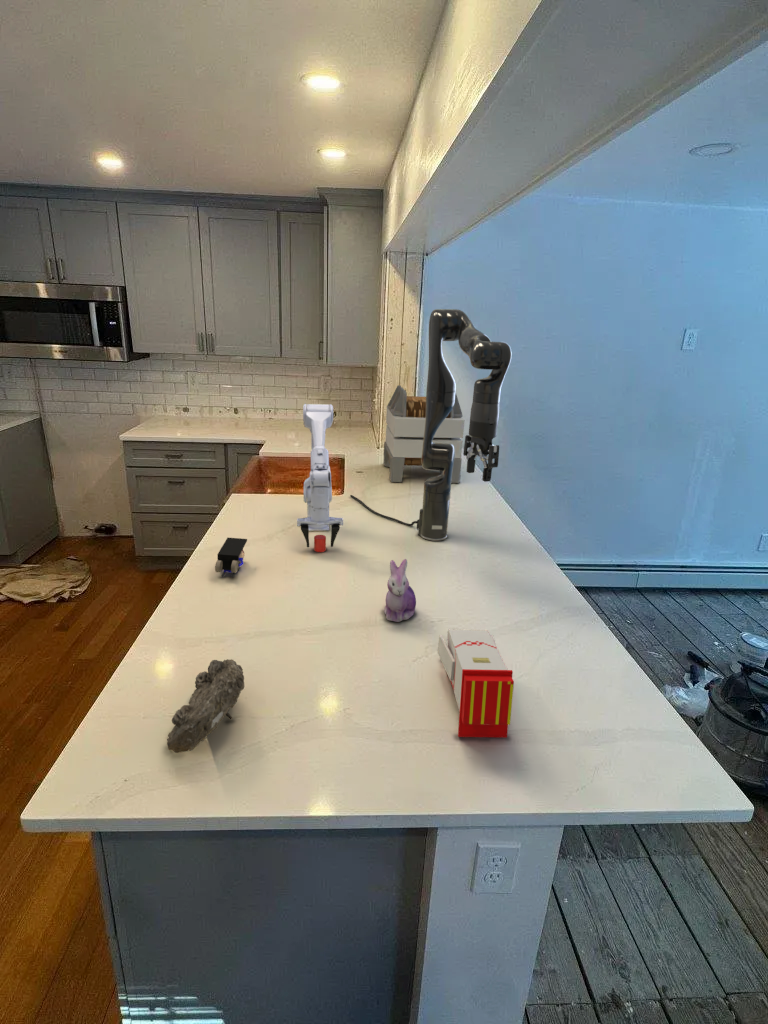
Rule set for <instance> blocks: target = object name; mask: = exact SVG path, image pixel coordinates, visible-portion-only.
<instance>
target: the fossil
mask: <svg viewBox="0 0 768 1024" xmlns="http://www.w3.org/2000/svg"><path fill="white" fill-rule="evenodd" d="M243 670H244V669H243V667H242V665H240V664H237V662H236V661H235V660H234V659H232V658H231V659H227V658H226V659H224V660H223V661H222V660H217V659H212V660H211V661H210V663H209V665H208V666H207V671H201V672H199V673H198V674H197V675H196V676H195V680H194V684H195V685H194V687H195V689H194V690H193V693H192V694H191V697H190V698H189V700H188V704H184V705H182V706H181V707H180V709H177V710H176V711H175V713H174V715H173V716H172V718H171V723H172V724H173V727H172V730H171V731H170V732H168V734H167V738H166V741H167V742H166V745H167V749H168V750H169V751H173V752H174V753H176V754H178V753H182V752H188V751H189V752H192V751H193V750H195V748H196V747H197V746H199V744H200V743H201V742H203V741H204V740H205V739H206V738H207V737H208V736H209V735H210V734H211V733H212V732H214V730H215V729H217V727H218V726H219V724H220V722H221V721H222V720H223V719H224V718H225V716H226V717H227V719H229V720H233V717H232V715H230V714H229V710H230V709H231V708H234V706H235V704H236V703H237V702H238V699H239V697H240V695H241V693H242V691H243V690H245V689H244V688H245V675H244V671H243Z"/></svg>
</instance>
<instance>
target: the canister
mask: <svg viewBox="0 0 768 1024" xmlns="http://www.w3.org/2000/svg"><path fill="white" fill-rule="evenodd" d="M313 551H314V552H315V553H324V552H326V551H327V535H324V534H315V535H314V536H313Z"/></svg>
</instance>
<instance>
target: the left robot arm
mask: <svg viewBox="0 0 768 1024" xmlns="http://www.w3.org/2000/svg"><path fill="white" fill-rule="evenodd" d="M302 421H303V425H304V428H306V429H309V432H310V435H311V436H310V437H311V438H310V440H311V441H310V443H311V446H310V447H311V450H310V471H309V476H308V477H306V479H305V480H304V482H303V502H304V503H305V504H306V508H307V509H306V511H307V512H306V513H307V515H306V517H301V518H300V517H297V518H296V526H297V527H300V531H301V533H302V534H303V537H304V540H305V543H306V548H310V537H309V536H310V532H314V531H318V532H319V531H322V532H323V531H330V547H331V548H333V547H334V545H335V544H334V543H335V540H336V538H337V535H338V533H339V531H340V529H341V526H344V518H343V517H335V516H330V503H331V502H332V501H333V488H332V472H331V466H330V454H329V453H330V452H329V450H328V449H327V448H326V432H327V431H326V430H327V429H329V428H331V427H332V425H333V422H334V405H332V403H329V404H327V403H325V404H323V403H322V404H318V403H304V404H303V405H302Z"/></svg>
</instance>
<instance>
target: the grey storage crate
mask: <svg viewBox="0 0 768 1024" xmlns="http://www.w3.org/2000/svg"><path fill="white" fill-rule="evenodd" d="M407 394H408V393H407V390H406V389H404V388H403V387H402V385H399V384H398V385H397V386H396V388H395V390H394V392H393V394H392V395H391V398H390V400H389V402H388V404H387V405H386V413H385V414H386V415H385V423H386V428H385V438H384V442H383V466H384V467H388V468H389V475H388V476H389V477H388V478H389V480H390V482H391V483H402V482H403V475H404V469H405V466H406V467H407V466H411V467H412V466H413V467H415V466H416V467H417V466H418V467H422V463H421V457H422V447H423V439H424V430H425V417H426V396H415V395H414V396H413V395H412V396H411V395H407ZM464 429H465V419H464V418H463V411H462V408H461V405H460V402H459V398H458V395H457V392H455V403H454V406H453V408H452V410H451V412H450V413H449V414H448V416H447V417H446V418H445V420H444V421H443V422H442V423H441V425H440V426H439V428H438V429H437V431H436V433H435V435H434V437H433V440H432V442H433V443H445V444H452V445H453V446H454V449H455V456H454V464H453V470H452V479H451V484H455V483H456V484H459V483H461V472H462V461H463V460H462V454H463V444H464V443H463V442H464V441H463V440H462V439H463V438H464V431H465V430H464ZM439 473H440V474H442V473H443V471H439Z"/></svg>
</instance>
